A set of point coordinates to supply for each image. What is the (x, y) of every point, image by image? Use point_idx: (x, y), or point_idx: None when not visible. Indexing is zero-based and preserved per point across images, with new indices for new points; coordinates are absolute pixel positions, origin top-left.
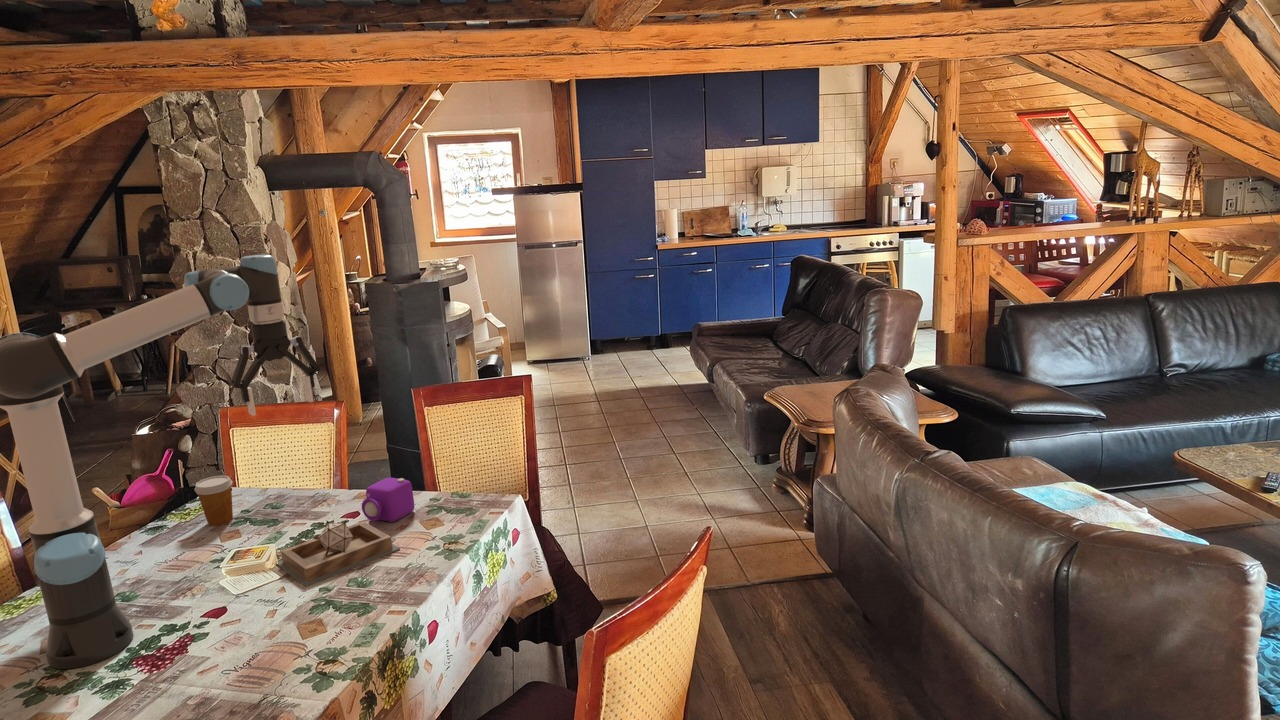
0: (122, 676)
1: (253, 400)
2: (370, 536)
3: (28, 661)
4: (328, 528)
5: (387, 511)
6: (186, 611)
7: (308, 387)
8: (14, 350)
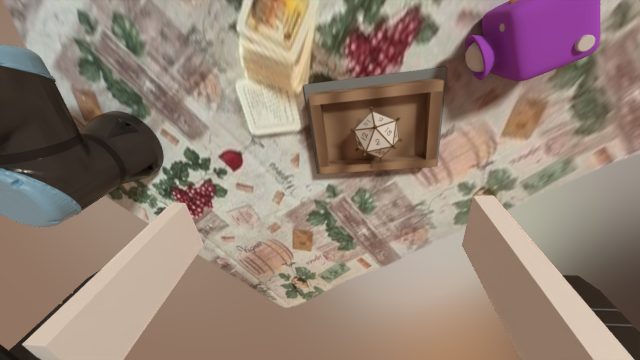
0: None
1: (159, 305)
2: (426, 123)
3: (79, 127)
4: (364, 155)
5: (495, 70)
6: (204, 135)
7: (506, 328)
8: None
